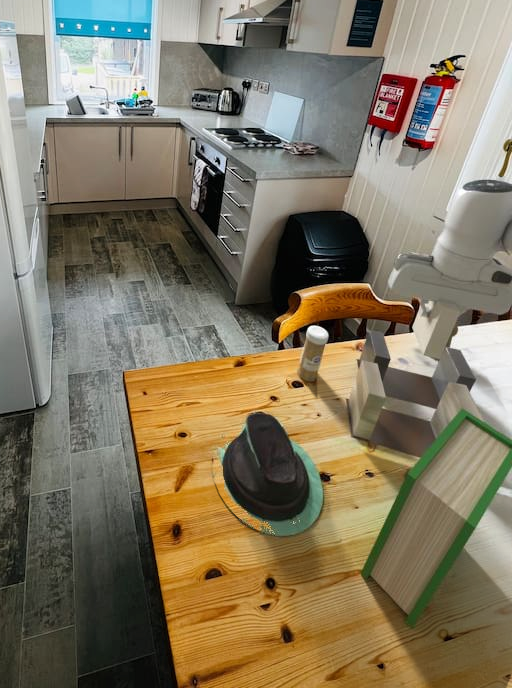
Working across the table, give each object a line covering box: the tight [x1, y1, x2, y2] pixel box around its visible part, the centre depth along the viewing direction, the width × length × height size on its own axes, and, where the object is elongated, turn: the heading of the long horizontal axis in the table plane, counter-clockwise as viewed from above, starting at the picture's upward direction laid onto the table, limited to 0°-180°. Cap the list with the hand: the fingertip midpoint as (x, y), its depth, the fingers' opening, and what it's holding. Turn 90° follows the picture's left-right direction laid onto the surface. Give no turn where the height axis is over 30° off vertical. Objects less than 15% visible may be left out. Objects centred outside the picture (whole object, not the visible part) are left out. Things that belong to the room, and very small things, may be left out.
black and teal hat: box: [212, 411, 324, 537], centre depth 72 cm, size 15×19×20 cm
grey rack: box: [356, 329, 477, 410], centre depth 91 cm, size 20×10×11 cm, turn 72°
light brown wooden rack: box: [345, 360, 485, 459], centre depth 79 cm, size 20×10×13 cm, turn 72°
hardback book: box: [360, 409, 512, 629], centre depth 57 cm, size 18×7×24 cm, turn 125°
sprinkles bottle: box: [296, 325, 329, 383], centre depth 93 cm, size 5×5×13 cm
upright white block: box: [411, 300, 460, 359], centre depth 82 cm, size 3×9×12 cm, turn 161°
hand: (435, 318), depth 82 cm, fingers closed on upright white block, 3 cm apart
